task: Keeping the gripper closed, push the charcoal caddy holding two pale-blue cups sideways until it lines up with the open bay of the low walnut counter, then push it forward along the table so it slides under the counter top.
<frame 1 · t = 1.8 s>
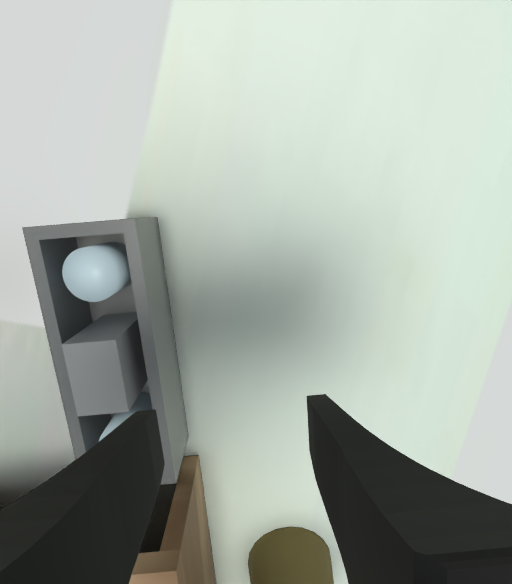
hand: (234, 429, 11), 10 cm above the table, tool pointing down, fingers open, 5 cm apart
counter: (103, 544, 24), on the table
tray: (132, 338, 21), on the table
cork: (289, 558, 25), on the table
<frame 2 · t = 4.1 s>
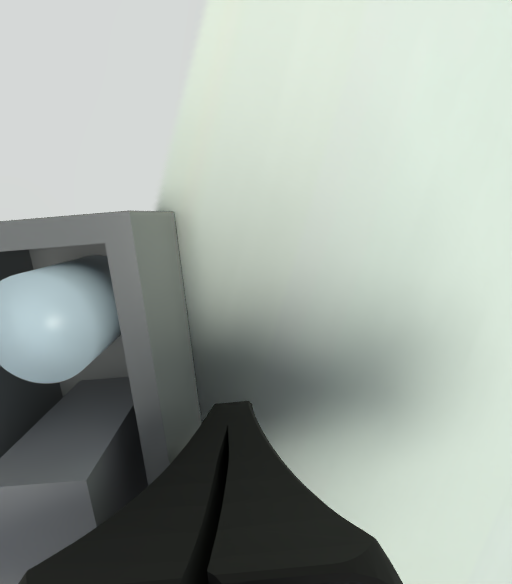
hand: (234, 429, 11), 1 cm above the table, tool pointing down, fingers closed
tray: (131, 415, 12), on the table, touching gripper
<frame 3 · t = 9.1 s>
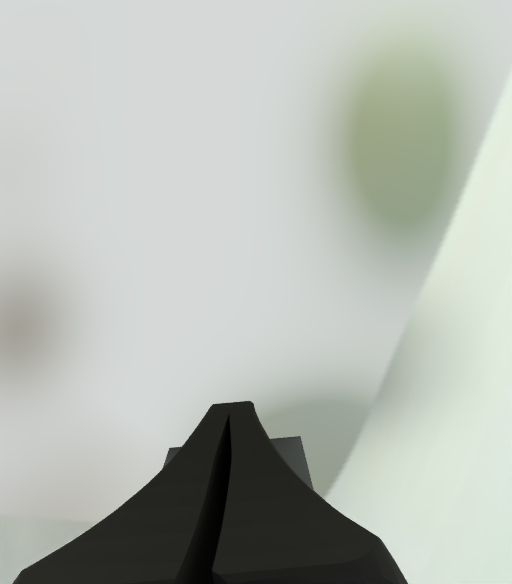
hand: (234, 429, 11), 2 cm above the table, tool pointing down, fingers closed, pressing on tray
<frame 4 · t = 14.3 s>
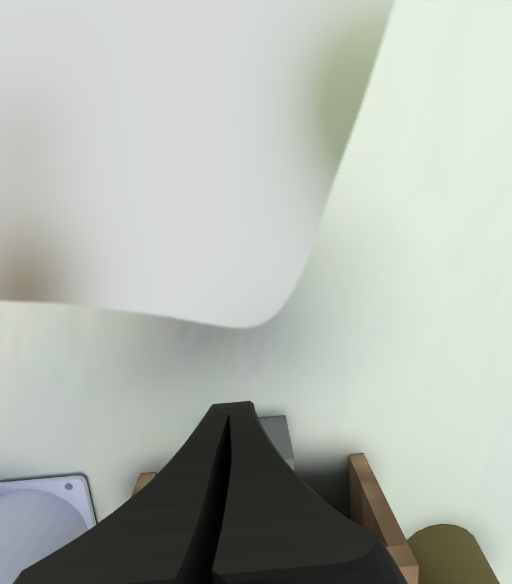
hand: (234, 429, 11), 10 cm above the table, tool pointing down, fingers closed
counter: (260, 541, 24), on the table
tray: (255, 508, 24), on the table
cork: (437, 555, 25), on the table
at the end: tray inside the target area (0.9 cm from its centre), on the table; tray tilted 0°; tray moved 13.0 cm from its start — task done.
